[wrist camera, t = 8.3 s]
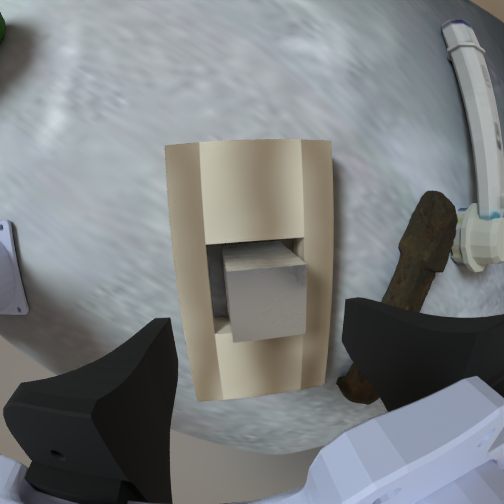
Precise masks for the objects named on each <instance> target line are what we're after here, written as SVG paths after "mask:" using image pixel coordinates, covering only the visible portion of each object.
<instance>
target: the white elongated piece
mask: <svg viewBox="0 0 504 504" xmlns="http://www.w3.org/2000/svg"><path fill="white" fill-rule="evenodd" d="M441 32H442V35H443V37H444V40H445V43H446V46H447V57H448V60H450V61H452V64H453V67H454V70H455V73H456V76H457V80H458V83H459V87H460V91H461V94H462V98H463V102H464V107H465V111H466V116H467V120H468V126H469V131H470V137H471V143H472V149H473V157H474V165H475V174H476V186H477V202H478V203H472V204H471V205H470V206H469V208H460V209H459V210H458V211H457V212H456V214H457V217H458V223H457V225H456V237H455V238H454V240H453V241H454V244H453V246H452V252H453V255H452V258H453V260H454V261H455V262H456V263H457V264H460V265H465V266H467V268H468V269H469V270H470V271H472V272H481V271H483V270H484V269H485V267H486V266H487V264H500V263H502V262H504V156H503V146H502V138H501V130H500V124H499V118H498V112H497V107H496V102H495V97H494V93H493V89H492V85H491V81H490V77H489V73H488V70H487V66H486V63H485V60H484V58H485V51H484V49H482V48H481V47H480V46H479V43H478V41H477V39H476V36H475V34H474V32H473V29H472V27H471V26H470V25H468V24H467V23H466V22H464V21H463V20H448V21H447V22H445V23H444V24H442V25H441Z"/></svg>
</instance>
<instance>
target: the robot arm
mask: <svg viewBox="0 0 504 504" xmlns="http://www.w3.org/2000/svg"><path fill="white" fill-rule="evenodd" d="M2 225H3V229H2ZM19 308H20V309H21V310H20V309H19ZM28 312H29V308H28V304H27V301H26V297H25V293H24V289H23V285H22V281H21V277H20V272H19V268H18V263H17V258H16V252H15V247H14V241H13V234H12V227H11V223H10V221H9V220H5V221H0V314H5V315H26V314H27V313H28ZM342 342H343V344H344V346H345V348H346V350H347V352H348V354H349V356H350V358H351V359H352V360H353V362H354V363H355V364H356V366H357V367H358V368H359V370H360V371H361V372H362V374H363V375H364V376H365V378H366V379H367V380H368V381H369V383H370V384H371V385H372V387H373V388H374V389H375V391H376V392H377V394H378V395H379V397H380V398H381V400H382V402H383V403H384V405H385V407H386V409H387V411H388V412H387V413H384V414H381V415H379V416H376V417H373V418H370V419H368V420H366V421H364V422H362V423H360V424H358V425H355V426H353V427H351V428H349V429H347V430H344V431H343V432H342V433H341V434H339V435H338V436H337V437H336V438H334V439H333V440H332V441H330V442H329V443H328V444H326V445H325V446H324V447H323V448H322V449H321V450H320V452H319V454H318V455H317V457H316V458H315V460H314V461H313V463H312V465H311V466H310V468H309V471H308V476H307V482H306V484H305V485H303V486H300V487H298V488H295V489H292V490H289V491H286V492H283V493H280V494H276V495H273V496H270V497H266V498H263V499H259V500H253V501H246V502H235V503H223V504H504V314H502V315H496V316H489V317H477V318H455V317H441V316H434V315H428V314H422V313H418V312H413V311H409V310H405V309H402V308H398V307H394V306H391V305H388V304H384V303H381V302H377V301H374V300H370V299H366V298H359V297H357V298H351V299H346V300H345V312H344V323H343V333H342ZM177 382H178V357H177V352H176V347H175V341H174V336H173V331H172V325H171V319H170V318H155V319H154V320H152V321H151V322H149V323H148V324H147V325H146V326H145V327H143V328H142V329H141V330H140V331H139V332H137V333H136V334H135V335H134V336H133V337H131V338H130V339H129V340H127V341H126V342H125V343H123V344H122V345H120V346H119V347H118V348H116V349H115V350H113V351H112V352H110V353H109V354H107V355H105V356H104V357H102V358H100V359H98V360H96V361H94V362H92V363H90V364H88V365H86V366H83V367H81V368H79V369H76V370H74V371H71V372H68V373H65V374H62V375H58V376H55V377H51V378H47V379H42V380H36V381H31V382H24V383H21V384H20V385H19V386H18V388H17V389H16V391H15V392H14V393H13V395H12V396H11V398H10V399H9V401H8V402H7V404H6V405H5V407H4V409H3V415H4V419H5V422H6V425H7V427H8V428H9V430H10V432H11V434H12V435H13V436H14V438H15V439H16V441H17V442H18V443H19V444H20V446H21V447H22V449H23V450H24V451H25V453H26V454H27V455H28V456H29V458H30V459H31V460H32V462H31V464H30V467H29V468H28V467H26V466H25V465H24V464H22V463H20V462H18V461H16V460H13V459H11V458H8V457H5V456H3V455H1V454H0V504H172V495H171V480H170V425H171V418H172V412H173V406H174V400H175V394H176V388H177Z"/></svg>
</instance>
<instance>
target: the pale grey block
mask: <svg viewBox="0 0 504 504" xmlns="http://www.w3.org/2000/svg"><path fill="white" fill-rule="evenodd" d="M222 256H223V268H224V280H225V292H226V302H227V308H228V315H229V321H230V327H231V333H232V339H233V343H237V342H246V341H255V340H263V339H271V338H279V337H286V336H293V335H299V334H306V296H307V264H306V263H305V262H304V261H302V260H301V259H300V258H299V257H298V256H296V255H295V254H294V253H293V252H292V251H290V250H289V249H288V248H287V247H286V246H284V245H283V244H282V243H281V242H280V241H276V242H263V243H250V244H238V245H226V246H222Z"/></svg>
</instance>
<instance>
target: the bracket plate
mask: <svg viewBox="0 0 504 504" xmlns="http://www.w3.org/2000/svg"><path fill="white" fill-rule="evenodd" d="M165 160H166V179H167V194H168V208H169V219H170V230H171V240H172V250H173V258H174V267H175V275H176V282H177V290H178V297H179V304H180V310H181V317H182V323H183V329H184V335H185V341H186V346H187V352H188V357H189V362H190V368H191V373H192V378H193V382H194V387H195V392H196V396H197V401H198V402H202V401H216V400H228V399H238V398H247V397H255V396H262V395H269V394H276V393H282V392H288V391H294V390H300V389H305V388H310V387H315V386H320V385H324V382H325V374H326V364H327V354H328V343H329V331H330V317H331V301H332V280H333V241H334V207H333V169H332V148H331V141H325V140H291V139H265V140H231V141H213V142H198V143H187V144H176V145H167V146H165ZM287 238H293V253H294V254H295V255H296V256H298V257H299V258H300V259H301V260H302V261H304V262H305V263H306V264H307V296H306V334H299V335H293V336H286V337H279V338H271V339H263V340H255V341H246V342H237V343H233V339H232V333H231V327H230V321H229V317H218V318H214V314H213V305H212V295H211V286H210V275H209V264H208V253H207V245H208V244H221V243H233V242H246V241H259V240H273V239H287Z"/></svg>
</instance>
